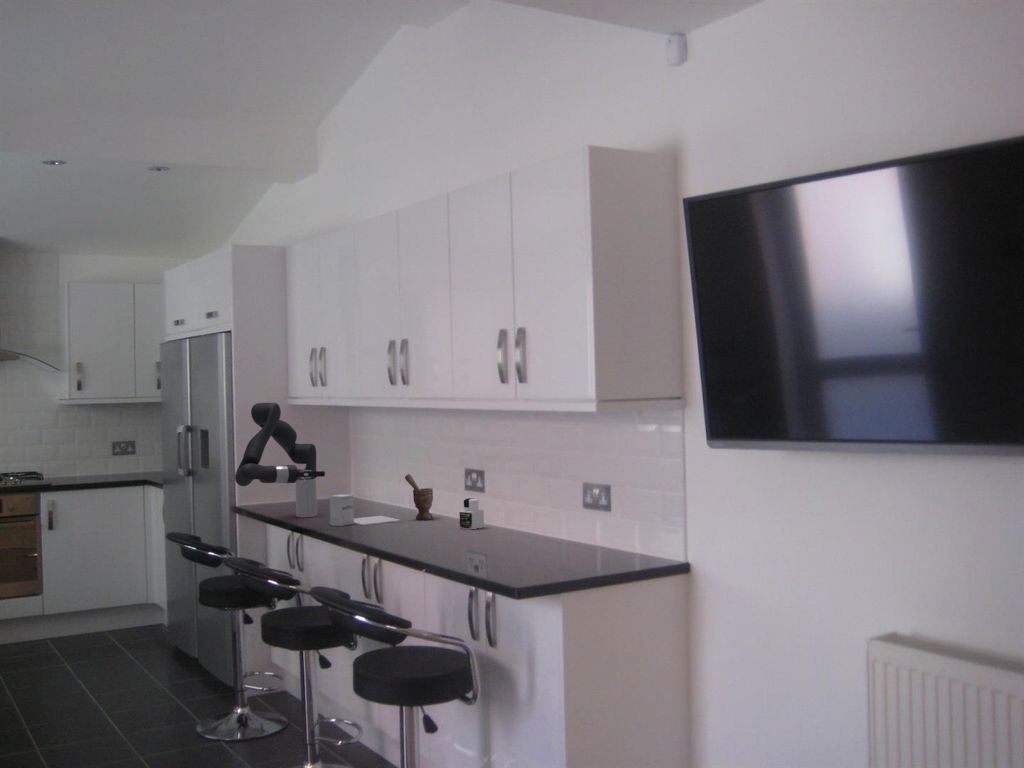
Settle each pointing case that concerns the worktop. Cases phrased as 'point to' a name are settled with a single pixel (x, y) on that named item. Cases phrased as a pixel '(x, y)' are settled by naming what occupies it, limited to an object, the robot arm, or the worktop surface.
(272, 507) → the worktop surface
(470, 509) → the medicine bottle
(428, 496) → the mortar and pestle
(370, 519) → the mat
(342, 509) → the supplement box
